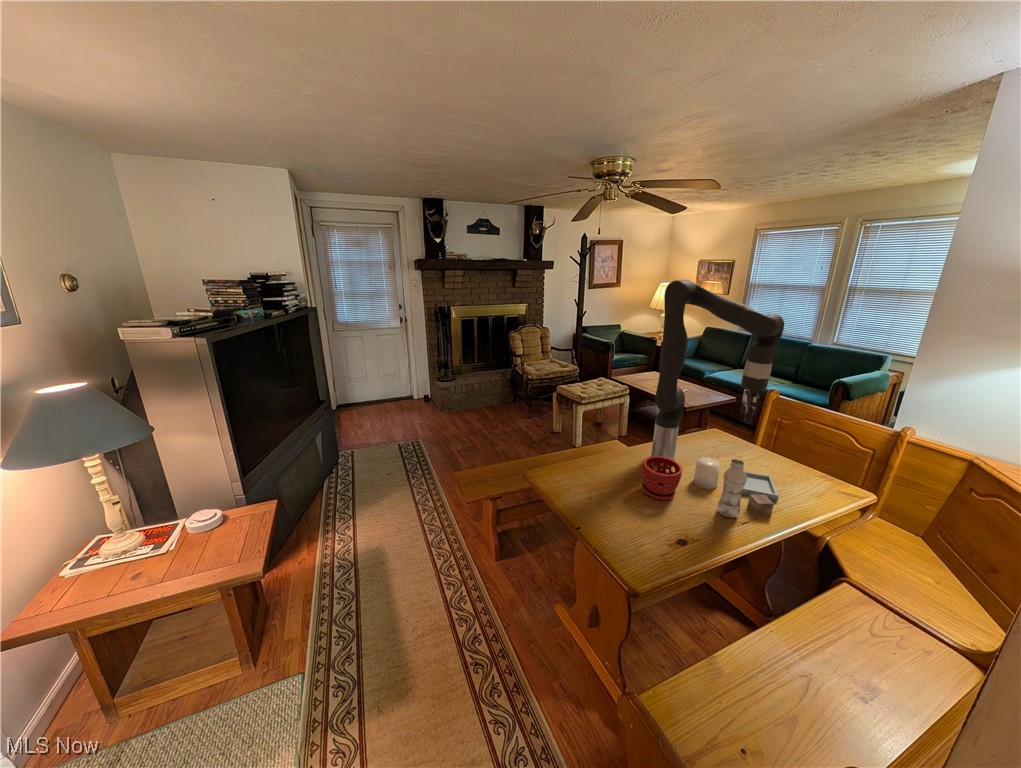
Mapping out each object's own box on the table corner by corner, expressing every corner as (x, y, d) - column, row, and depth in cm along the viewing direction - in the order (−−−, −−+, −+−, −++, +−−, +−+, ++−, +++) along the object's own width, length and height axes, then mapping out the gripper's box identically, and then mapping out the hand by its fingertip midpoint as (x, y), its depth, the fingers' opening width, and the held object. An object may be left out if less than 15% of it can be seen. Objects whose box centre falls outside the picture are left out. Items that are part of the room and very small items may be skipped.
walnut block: (755, 515, 125) (758, 503, 124) (747, 506, 130) (750, 494, 129) (770, 516, 125) (773, 503, 124) (762, 507, 130) (765, 494, 128)
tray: (732, 492, 138) (733, 486, 137) (728, 473, 150) (729, 468, 150) (777, 501, 133) (778, 495, 132) (769, 481, 145) (770, 475, 144)
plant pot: (634, 494, 138) (637, 465, 134) (649, 479, 147) (652, 452, 143) (669, 508, 130) (674, 478, 126) (683, 492, 139) (687, 463, 135)
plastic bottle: (712, 508, 129) (721, 457, 123) (730, 507, 130) (741, 456, 124) (723, 521, 123) (734, 467, 117) (743, 519, 124) (754, 466, 117)
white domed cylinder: (693, 486, 142) (697, 465, 140) (693, 475, 149) (696, 455, 147) (717, 490, 139) (721, 469, 137) (715, 480, 146) (719, 459, 143)
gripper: (741, 367, 133) (731, 409, 138) (746, 378, 120) (735, 424, 126) (765, 370, 130) (755, 412, 135) (773, 382, 118) (761, 428, 123)
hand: (745, 418), depth 130 cm, fingers open, 8 cm apart
